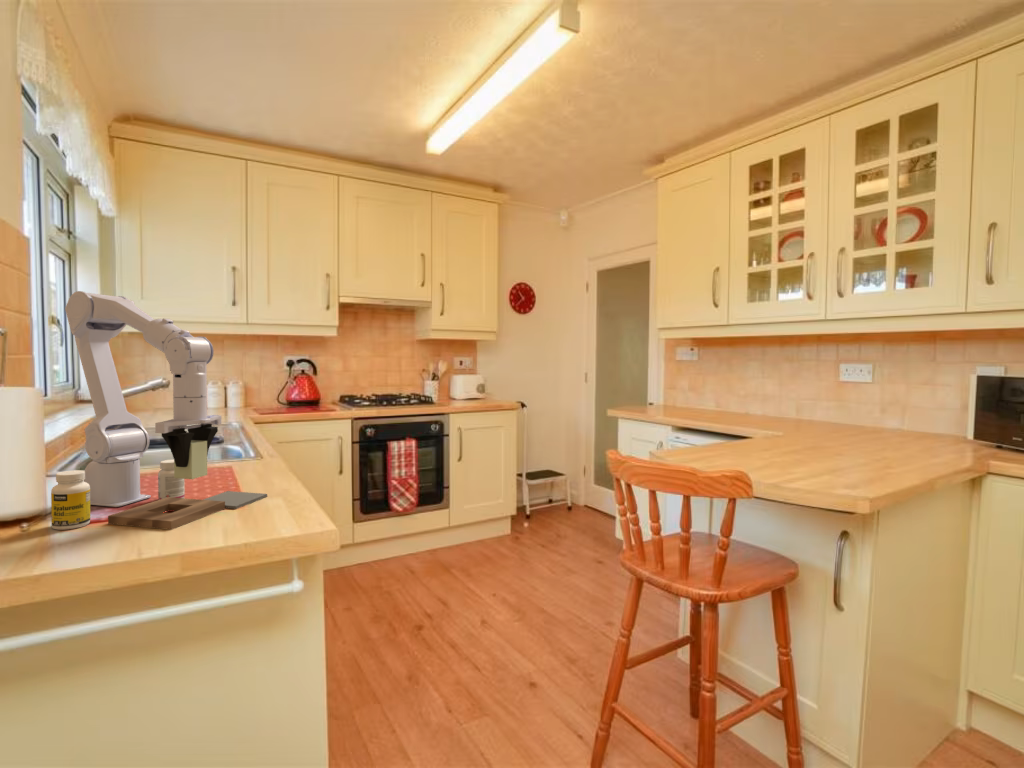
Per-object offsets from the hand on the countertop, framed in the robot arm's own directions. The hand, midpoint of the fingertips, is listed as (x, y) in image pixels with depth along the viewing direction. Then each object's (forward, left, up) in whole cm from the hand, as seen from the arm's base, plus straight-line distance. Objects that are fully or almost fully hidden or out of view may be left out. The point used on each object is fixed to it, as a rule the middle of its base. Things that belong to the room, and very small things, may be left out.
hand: (190, 464), depth 104 cm
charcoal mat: (+3, +8, -9) cm, 13 cm away
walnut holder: (-1, -4, -9) cm, 10 cm away
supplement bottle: (-13, -13, -10) cm, 21 cm away
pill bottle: (-10, +6, -10) cm, 15 cm away
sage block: (0, 0, -2) cm, 2 cm away
